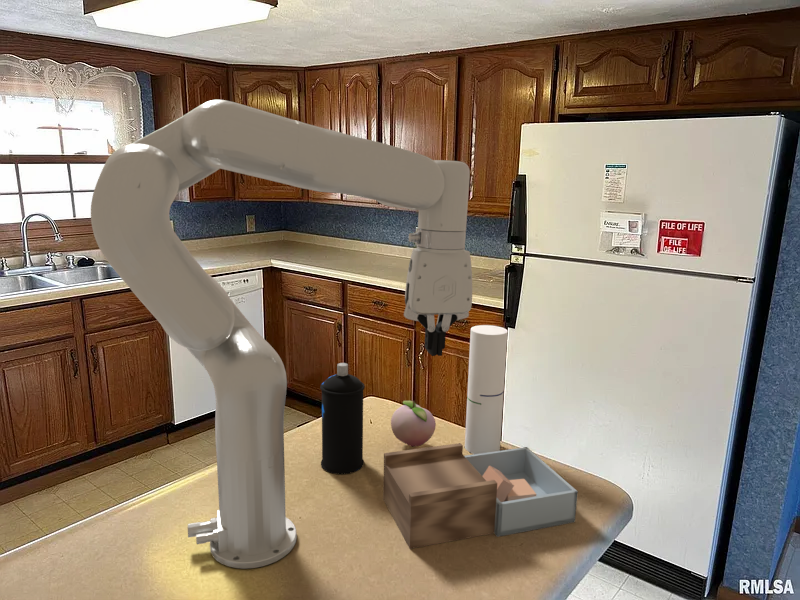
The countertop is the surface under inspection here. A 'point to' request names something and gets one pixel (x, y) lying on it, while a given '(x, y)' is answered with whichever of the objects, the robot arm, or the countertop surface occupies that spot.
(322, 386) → the aerosol can
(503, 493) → the tile
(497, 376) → the cylindrical container
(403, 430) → the decorative fruit
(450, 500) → the brown wooden box
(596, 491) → the countertop surface
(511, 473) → the bin
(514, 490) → the tile
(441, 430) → the countertop surface
